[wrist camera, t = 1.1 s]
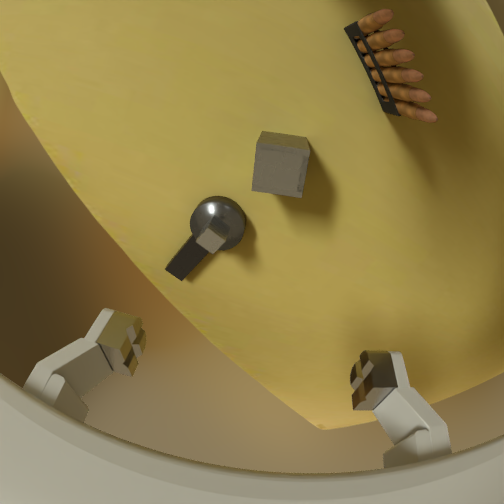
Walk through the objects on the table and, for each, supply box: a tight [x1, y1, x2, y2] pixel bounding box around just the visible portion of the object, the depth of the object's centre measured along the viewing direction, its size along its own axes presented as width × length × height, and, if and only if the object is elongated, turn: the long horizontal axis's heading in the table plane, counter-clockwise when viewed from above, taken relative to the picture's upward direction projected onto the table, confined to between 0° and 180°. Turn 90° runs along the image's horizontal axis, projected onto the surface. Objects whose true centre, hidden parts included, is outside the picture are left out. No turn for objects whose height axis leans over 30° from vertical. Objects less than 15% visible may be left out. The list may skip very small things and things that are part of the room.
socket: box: [252, 131, 310, 198], centre depth 28 cm, size 5×5×6 cm
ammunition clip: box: [344, 9, 438, 123], centre depth 18 cm, size 11×2×12 cm, turn 27°
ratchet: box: [165, 196, 246, 281], centre depth 37 cm, size 16×7×5 cm, turn 139°
